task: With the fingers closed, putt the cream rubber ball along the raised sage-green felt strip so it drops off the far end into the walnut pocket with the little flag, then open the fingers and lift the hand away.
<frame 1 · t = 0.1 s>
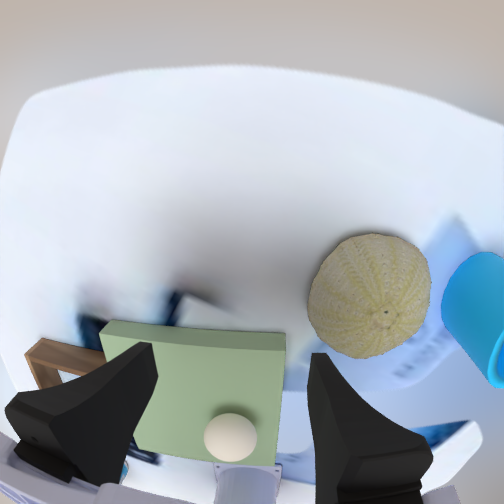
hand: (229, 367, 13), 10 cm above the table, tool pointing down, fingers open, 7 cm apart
open wooden cubby: (129, 386, 27), on the table
mug: (490, 284, 21), on the table
sea urchin shell: (365, 285, 22), on the table
green: (200, 397, 26), on the table
ball: (230, 437, 22), point 5 cm above the table, touching green
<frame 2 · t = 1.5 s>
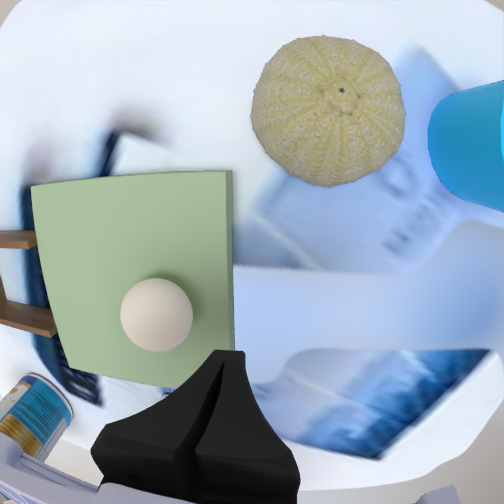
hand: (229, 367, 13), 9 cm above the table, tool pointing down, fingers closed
beverage bottle: (49, 396, 28), on the table
open wooden cubby: (62, 276, 22), on the table
mug: (484, 138, 17), on the table
sea urchin shell: (326, 112, 18), on the table
green: (135, 282, 22), on the table
ball: (156, 315, 17), point 5 cm above the table, touching green
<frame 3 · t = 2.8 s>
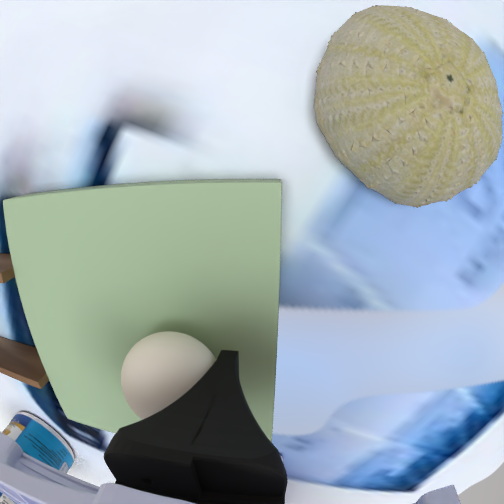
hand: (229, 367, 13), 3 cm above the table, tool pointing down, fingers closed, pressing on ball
beverage bottle: (46, 435, 23), on the table
open wooden cubby: (50, 312, 17), on the table
sea urchin shell: (400, 106, 12), on the table
green: (144, 325, 16), on the table
ball: (171, 381, 12), point 5 cm above the table, tilted 11°, touching green, gripper
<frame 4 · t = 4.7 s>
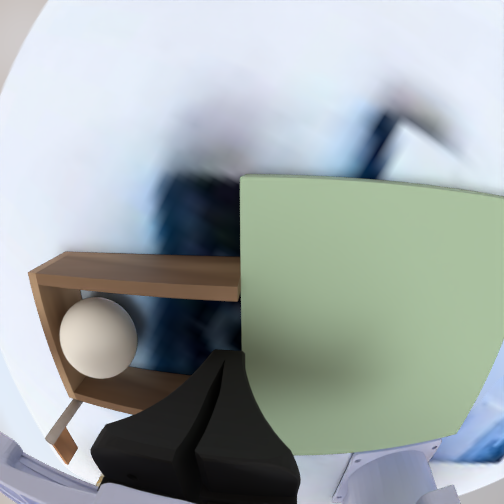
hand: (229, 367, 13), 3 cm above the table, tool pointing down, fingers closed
open wooden cubby: (246, 331, 16), on the table
green: (383, 331, 15), on the table
ball: (98, 338, 14), point 2 cm above the table, tilted 163°
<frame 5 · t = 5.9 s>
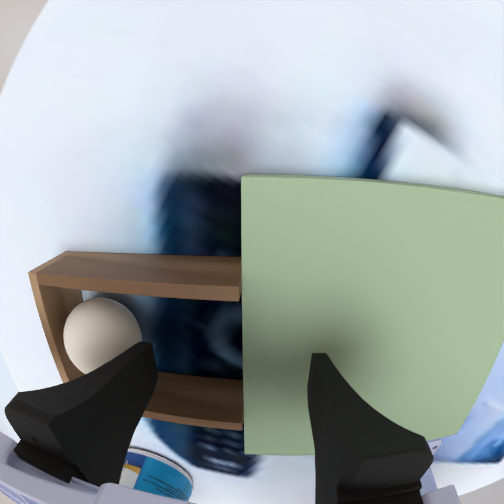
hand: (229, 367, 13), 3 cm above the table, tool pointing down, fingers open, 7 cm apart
beverage bottle: (152, 468, 22), on the table
open wooden cubby: (247, 331, 16), on the table
green: (384, 331, 15), on the table
ball: (102, 338, 14), point 2 cm above the table, tilted 166°
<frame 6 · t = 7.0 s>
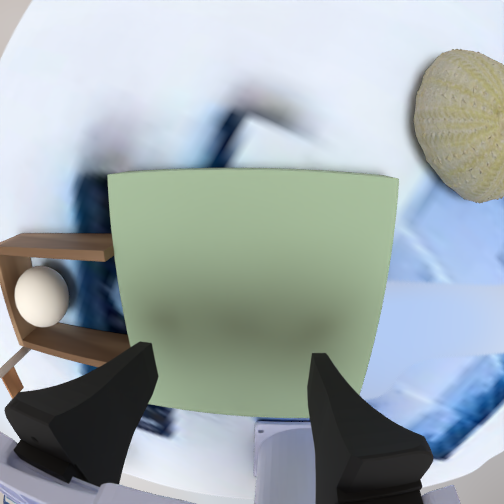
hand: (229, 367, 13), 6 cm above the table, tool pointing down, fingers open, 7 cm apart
open wooden cubby: (138, 293, 19), on the table
sea urchin shell: (463, 125, 15), on the table
green: (250, 301, 19), on the table
ball: (41, 296, 18), point 2 cm above the table, tilted 167°
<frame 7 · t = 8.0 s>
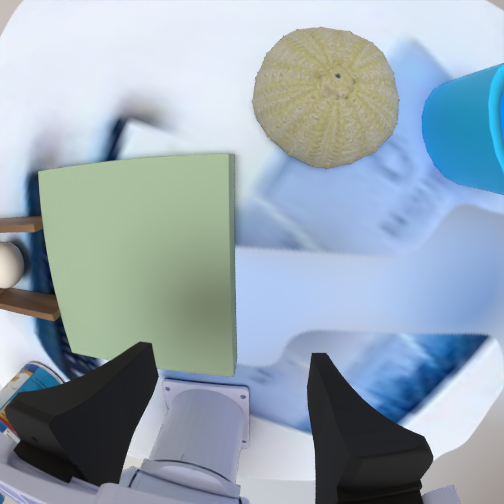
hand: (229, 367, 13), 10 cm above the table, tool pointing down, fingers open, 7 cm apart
beverage bottle: (50, 385, 29), on the table
open wooden cubby: (66, 261, 23), on the table
mug: (478, 126, 17), on the table
sea urchin shell: (324, 99, 18), on the table
green: (139, 264, 23), on the table
ball: (4, 265, 22), point 2 cm above the table, tilted 165°
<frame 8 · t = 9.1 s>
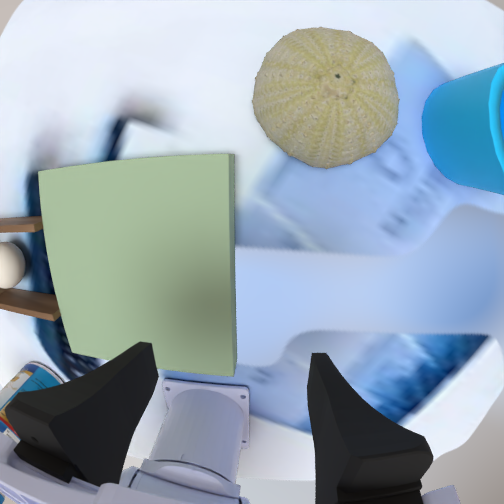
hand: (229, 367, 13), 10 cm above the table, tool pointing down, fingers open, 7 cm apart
beverage bottle: (50, 385, 29), on the table
open wooden cubby: (66, 261, 23), on the table
mug: (478, 126, 17), on the table
sea urchin shell: (324, 99, 18), on the table
green: (139, 264, 23), on the table
ball: (5, 265, 22), point 2 cm above the table, tilted 162°
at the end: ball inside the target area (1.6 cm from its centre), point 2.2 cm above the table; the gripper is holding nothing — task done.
